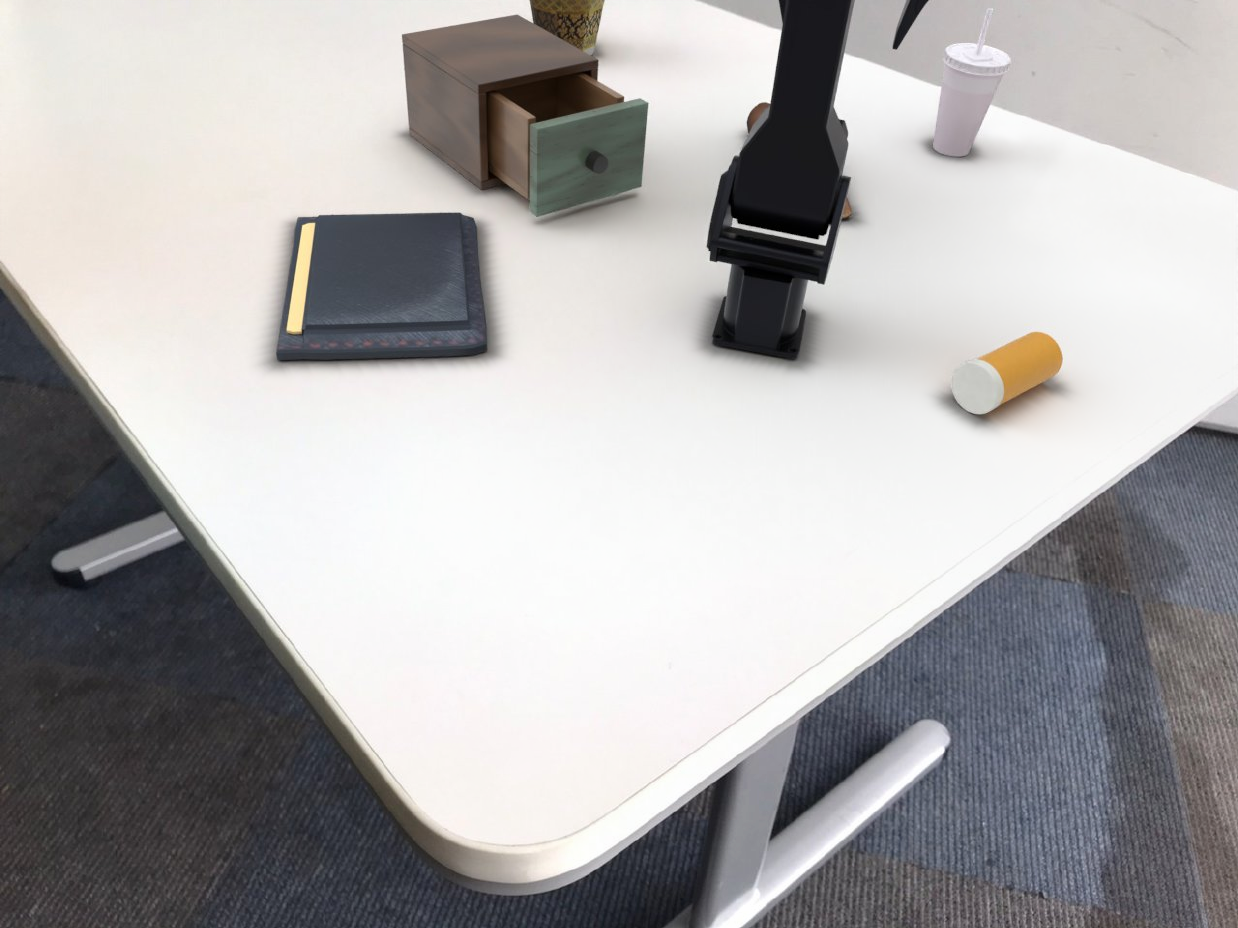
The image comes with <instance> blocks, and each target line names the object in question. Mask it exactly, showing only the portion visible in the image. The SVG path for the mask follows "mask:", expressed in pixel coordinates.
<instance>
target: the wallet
mask: <svg viewBox="0 0 1238 928" xmlns="http://www.w3.org/2000/svg"><path fill="white" fill-rule="evenodd" d="M293 230H294V231H293V241H292V242H293V243H292V251H291V257H290V262H289V263H290V264H289V268H288V269H289V270H288V275H287V283H286V289H285V294H284V295H285V296H284V302H283V307H282V313H281V314H282V315H281V319H280V320H281V321H280V326H279V332H278V339H277V340H278V341H277V344H276V345H277V346H276V350H275V351H276V352H275V355H276V360H277V361H291V360H292V361H293V360H320V361H321V360H323V361H324V360H325V361H326V360H327V361H328V360H330V361H331V360H361V359H364V360H365V359H396V358H400V359H401V358H427V357H428V358H430V357H431V358H432V357H435V358H436V357H454V356H455V357H456V356H473V355H477V354H480V353H483V352H484V353H485V352H487V351H488V333H487V331H488V328H487V319H486V311H485V310H486V309H485V303H484V295H483V288H482V281H481V272H480V259H479V247H478V227H477V224H476V221H475V218H474V217H472V216H469V215H465V214H464V213H461V212H414V213H413V212H412V213H411V212H410V213H408V212H407V213H363V214H362V213H361V214H358V213H357V214H355V213H353V214H320V215H318V216H298V217H297V219H296V223H295V227H294V229H293Z"/></svg>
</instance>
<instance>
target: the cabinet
mask: <svg viewBox="0 0 1238 928" xmlns="http://www.w3.org/2000/svg"><path fill="white" fill-rule="evenodd" d="M401 42H402V54H403V55H402V56H403V67H404V80H405V81H404V83H405V93H406V94H405V96H406V106H407V118H408V119H407V120H408V131H409V132H408V133H409V136H411V137H412V138H413V139H414V140H416V141H417V142H419V143H420V144H421V145H423V146H424V147H425V148H426V149H428V150H429V151H430V152H431V153H433V154H434V155H435V156H437V157H438V158H439V159H441V161H443V162H445V163H446V164H447V165H449V166H450V167H451V168H452V169H454V170H455V171H456V172H457V173H459V174H460V175H462V177H464V178H465V179H467V180H468V181H469V182H470V183H472V184H473V185H475V186H476V187H477V188H478V189H479V190H481V191H482V190H486V189H491V188H494V187H497V186H502V185H505V184H506V183H505V182H503V181H502V180H501V179H499V178H498V177H497V176H495V175H494V174H493V173H491V172H490V171H489V170H488V148H487V109H486V92H489V91H493V90H498V89H503V88H508V87H512V86H517V85H522V84H526V83H531V82H536V81H540V80H545V79H550V78H555V77H559V76H564V75H569V74H573V73H578V72H583V73H585V74H586V75H588V76H590V77H592V78H593V79H595V80H597V81H598V82H599V79H598V78H599V59H598V58H596V57H594V56H593V55H589V54H587V53H585V52H584V51H582V50H580V49H578V48H576V47H575V46H573V45H571V44H569V43H568V42H566V41H564V40H562V39H560V38H559V37H557V36H555V35H553V34H551V33H550V32H548V31H546V30H544V29H542V28H541V27H539V26H537V25H535V24H534V23H533V21H530V20H528V19H526V18H524V17H523V16H521V15H519V14H510V15H505V16H501V17H494V18H488V19H483V20H477V21H471V22H466V23H460V24H454V25H453V24H452V25H449V26H441V27H437V28H430V29H425V30H420V31H419V30H418V31H414V32H409V33H408V32H407V33H403V34H401Z"/></svg>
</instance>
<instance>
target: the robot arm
mask: <svg viewBox="0 0 1238 928" xmlns="http://www.w3.org/2000/svg"><path fill="white" fill-rule="evenodd" d="M855 1H856V0H778V5H779V10H780V11H779V12H780V17H781V22H782V23H781V24H782V25H781V26H782V27H781V33H780V39H779V46H778V51H777V57H776V58H777V59H776V66H775V71H774V78H773V85H772V91H771V98H770V103H769V104H770V106H769V107H767V108H766V109H765V110H764V111H763V113H762V114H761V115H760V117H759V119H758V120H757V121H756V122H755V123H754V125H753V126H752V128H751V131H750V133H749V134H748V135H747V137H746V139H745V141H744V143H743V146H742V147H741V149H740V151H739V154H738V155H734V156H733V158H732V160H731V163H730V165H729V166H728V169H727V170H726V171H724V172H723V173H722V174H721V175H720V177H719V183H718V187H717V190H716V195H715V199H714V204H713V208H712V211H711V216H710V222H709V226H708V232H707V240H706V247H705V248H707V250H708V252H709V261H710V262H713V263H718V262H719V263H722V264H723V263H724V264H729V265H730V271H729V276H728V284H727V291H726V295H725V296H724V297H723V299H722V302H721V305H720V309H719V312H718V315H717V318H716V322H715V326H714V329H713V332H712V336H711V342H712V344H714V345H715V346H721V347H725V348H732V349H735V350H742V351H748V352H754V353H757V354H758V353H759V354H764V355H769V356H770V355H771V356H774V357H775V356H776V357H781V358H787V359H793V360H794V359H797V358H799V355H800V351H801V344H802V338H803V334H804V333H803V332H804V326H805V323H806V322H805V321H806V317H807V316H806V315H807V310H806V309H805V308H803V307H804V301H805V298H806V293H807V288H808V284H809V283H808V282H809V281H811V282H815V283H817V284H819V285H825V284H826V281H827V278H828V274H829V271H830V268H831V263H832V261H833V257H834V254H835V249H836V246H837V240H838V236H839V232H840V229H841V225H842V220H843V219H842V216H843V212H844V208H845V204H846V199H847V198H848V195H849V190H850V186H851V181H852V176H848V175H843V174H844V169H845V164H846V159H847V154H848V149H849V140H848V138H849V130H848V125H847V123H846V120H845V119H841V118H840V119H839V116H838V113H837V111H836V109H835V101H836V96H837V91H838V87H839V82H840V81H839V80H840V76H841V72H842V66H843V61H844V57H845V51H846V46H847V43H848V42H847V41H848V37H849V33H850V32H849V31H850V26H851V22H852V16H853V11H854V6H855ZM929 1H930V0H905V3H904V4H903V5H904V6H903V9H902V11H901V14H900V17H899V19H898V22H897V25H896V28H895V32H894V37H893V42H892V50H898V49H899V48H900V46H901V44H902V43H903V40H904V39H905V37H906V36H907V34H908V33H909V32H910V29H911V28H912V26H913V24H914V23H915V21H916V19H917V18H918V17H919V15H920V14H921V12H922V10H924V9H923V8H924V7H925V6H926V5H927V4H928V2H929ZM733 220H736V223H737V224H738V225H743V226H747V227H752V228H757V229H763V230H768V231H771V232H777V233H783V234H788V235H792V236H797V237H802V238H807V239H812V240H820V237H824V236H826V235H827V234H828V235H827V239H826V244H825V245H824V244H819V243H814V242H810V241H804V240H800V239H794V238H790V237H785V236H779V235H775V234H770V233H765V232H760V231H755V230H749V229H745V228H739V227H735V226H733ZM829 226H830V227H829ZM828 230H829V231H828Z"/></svg>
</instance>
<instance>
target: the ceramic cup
mask: <svg viewBox="0 0 1238 928" xmlns="http://www.w3.org/2000/svg"><path fill="white" fill-rule="evenodd" d="M605 1H606V0H529V4H530V10H531V17H532V23H534V24H535V25H537V26H539V27H541V28H542V29H544V30H546V31H548V32H550V33H551V34H553V35H555V36H557V37H559V38H560V39H562V40H564V41H566V42H568V43H569V44H571V45H573V46H575V47H576V48H578V49H580V50H582V51H584V52H585V53H587V54H589V55H591V56H593V54H594V53H595V47H596V44H597V38H598V33H599V30H600V25H601V19H602V16H603V15H602V14H603V9H604V5H605Z"/></svg>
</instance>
